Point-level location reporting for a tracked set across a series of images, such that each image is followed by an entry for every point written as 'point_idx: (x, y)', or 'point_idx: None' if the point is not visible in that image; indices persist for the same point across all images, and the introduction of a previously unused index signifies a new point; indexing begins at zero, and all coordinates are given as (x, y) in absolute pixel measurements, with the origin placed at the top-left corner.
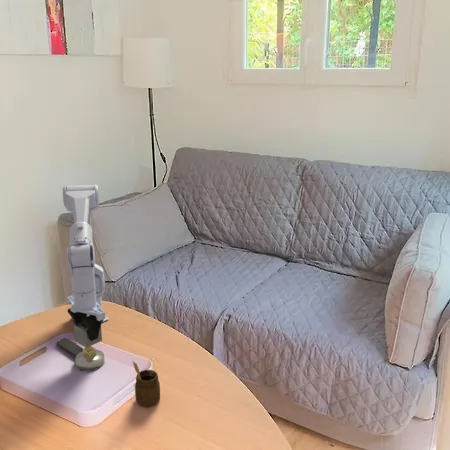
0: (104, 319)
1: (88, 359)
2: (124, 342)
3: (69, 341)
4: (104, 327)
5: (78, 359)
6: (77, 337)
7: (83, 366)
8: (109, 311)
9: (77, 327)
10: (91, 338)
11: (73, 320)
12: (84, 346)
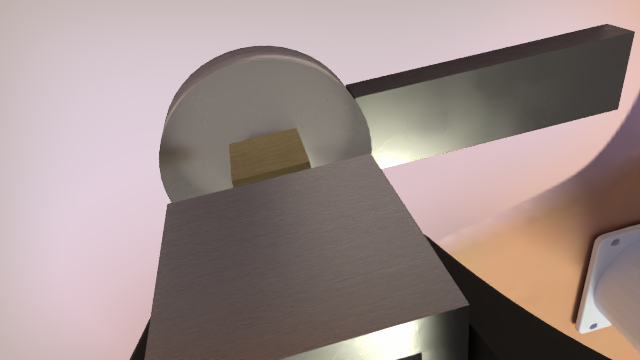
0: (588, 317)
1: (230, 147)
2: None
3: (557, 112)
4: (537, 297)
5: (286, 85)
6: (339, 201)
7: (190, 86)
8: (626, 341)
9: (359, 322)
10: (144, 334)
11: (558, 337)
12: (198, 199)
